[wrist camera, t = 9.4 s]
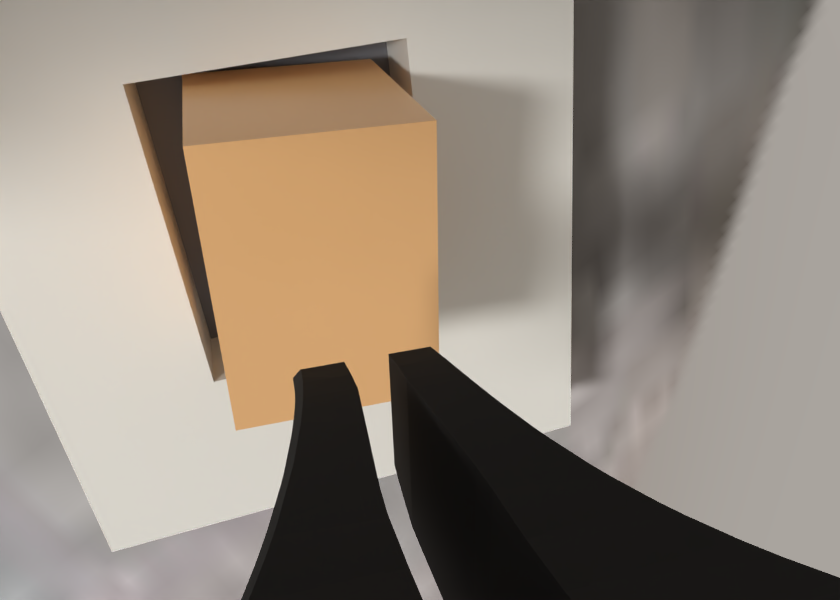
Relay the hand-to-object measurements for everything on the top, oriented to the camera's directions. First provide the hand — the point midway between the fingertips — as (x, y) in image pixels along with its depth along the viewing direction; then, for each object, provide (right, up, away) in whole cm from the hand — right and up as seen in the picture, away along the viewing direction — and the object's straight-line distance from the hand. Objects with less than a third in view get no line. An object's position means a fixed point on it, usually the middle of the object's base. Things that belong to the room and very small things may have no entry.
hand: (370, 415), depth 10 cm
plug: (-2, +5, +7) cm, 9 cm away
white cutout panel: (-3, +4, +8) cm, 9 cm away
